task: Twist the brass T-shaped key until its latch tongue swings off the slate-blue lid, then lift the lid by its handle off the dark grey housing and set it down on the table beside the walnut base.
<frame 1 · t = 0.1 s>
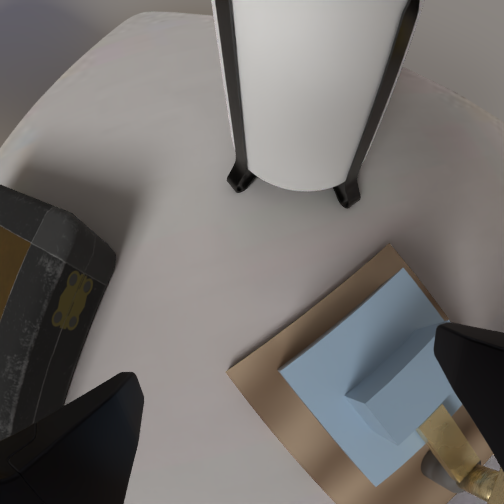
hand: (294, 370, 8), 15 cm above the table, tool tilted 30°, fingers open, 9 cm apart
latch base: (396, 413, 20), on the table
quarter turn key: (483, 471, 11), point 9 cm above the table, hinge at 0.0°
lid: (387, 379, 18), point 4 cm above the table, touching latch base
coffee press: (295, 140, 29), on the table
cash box: (7, 332, 24), on the table
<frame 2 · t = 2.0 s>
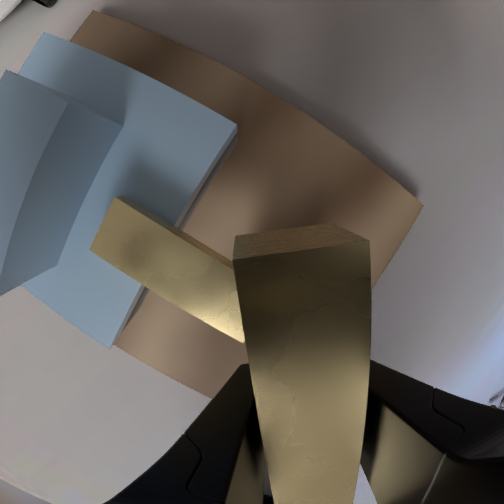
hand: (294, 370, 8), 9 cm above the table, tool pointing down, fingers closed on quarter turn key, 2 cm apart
latch base: (170, 216, 16), on the table
quarter turn key: (236, 338, 8), point 9 cm above the table, hinge at 0.0°, touching gripper
lid: (75, 179, 12), point 4 cm above the table, touching latch base
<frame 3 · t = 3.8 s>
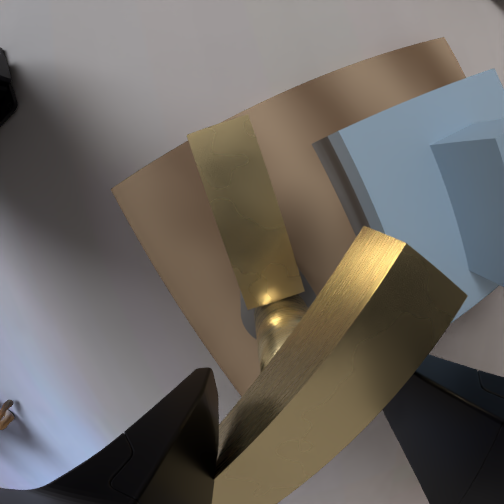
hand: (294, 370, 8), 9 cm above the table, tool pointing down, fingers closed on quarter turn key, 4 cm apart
latch base: (362, 220, 17), on the table
quarter turn key: (275, 302, 8), point 9 cm above the table, hinge at 80.0°, touching gripper
lid: (456, 194, 13), point 4 cm above the table, touching latch base
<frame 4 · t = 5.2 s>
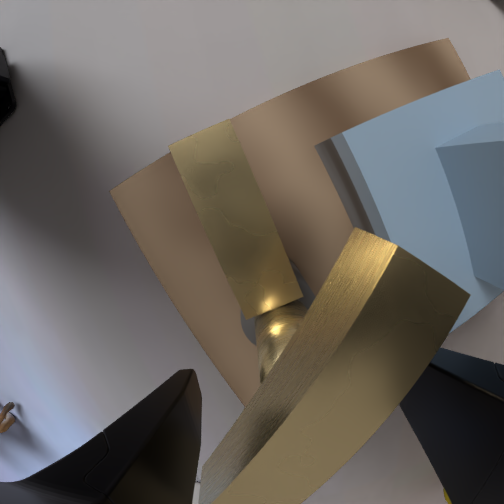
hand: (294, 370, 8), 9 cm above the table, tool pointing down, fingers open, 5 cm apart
latch base: (365, 224, 17), on the table
quarter turn key: (270, 312, 8), point 9 cm above the table, hinge at 84.9°
lid: (461, 198, 12), point 4 cm above the table, touching latch base
bath foam: (197, 497, 22), on the table
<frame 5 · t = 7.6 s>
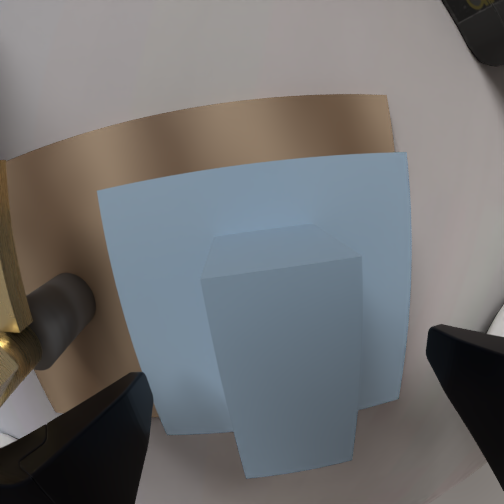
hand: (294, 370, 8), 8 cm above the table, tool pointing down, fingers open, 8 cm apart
latch base: (181, 281, 16), on the table
lid: (269, 302, 12), point 4 cm above the table, touching latch base
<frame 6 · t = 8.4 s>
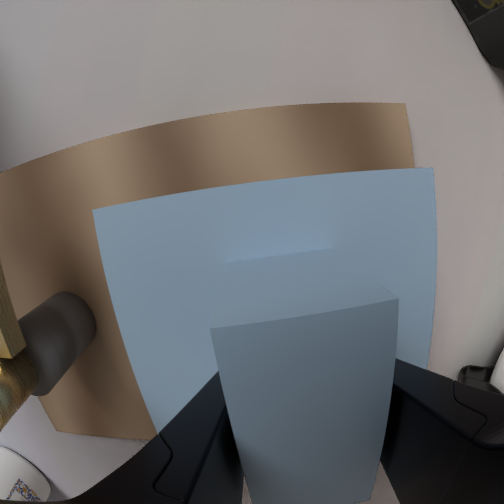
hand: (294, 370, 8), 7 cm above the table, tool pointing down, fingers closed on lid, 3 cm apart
latch base: (187, 302, 15), on the table
lid: (283, 330, 11), point 4 cm above the table, touching gripper, latch base
bath foam: (23, 468, 18), on the table
when the fingers open (4 cm above the table, at t = 12.6 s): lid drops 2 cm, on the table.
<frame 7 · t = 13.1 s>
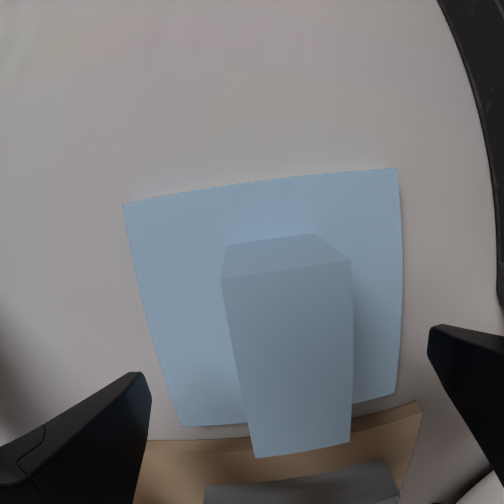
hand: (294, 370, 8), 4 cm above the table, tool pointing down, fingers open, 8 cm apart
lid: (276, 303, 13), on the table
coffee press: (489, 477, 18), on the table
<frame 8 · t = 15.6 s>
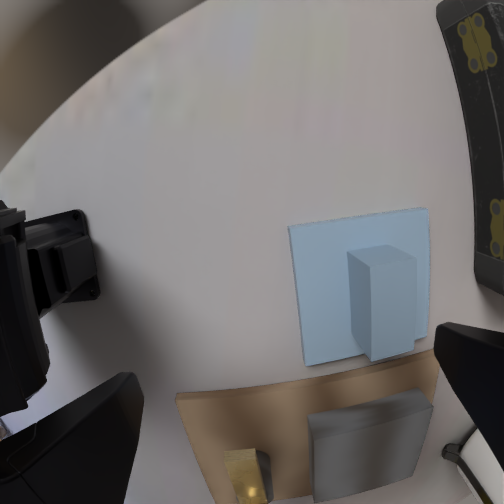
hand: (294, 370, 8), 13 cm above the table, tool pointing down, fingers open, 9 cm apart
latch base: (317, 443, 25), on the table
lid: (362, 283, 22), on the table
coffee press: (489, 428, 27), on the table
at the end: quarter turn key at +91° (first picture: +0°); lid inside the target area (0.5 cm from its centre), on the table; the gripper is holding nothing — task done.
